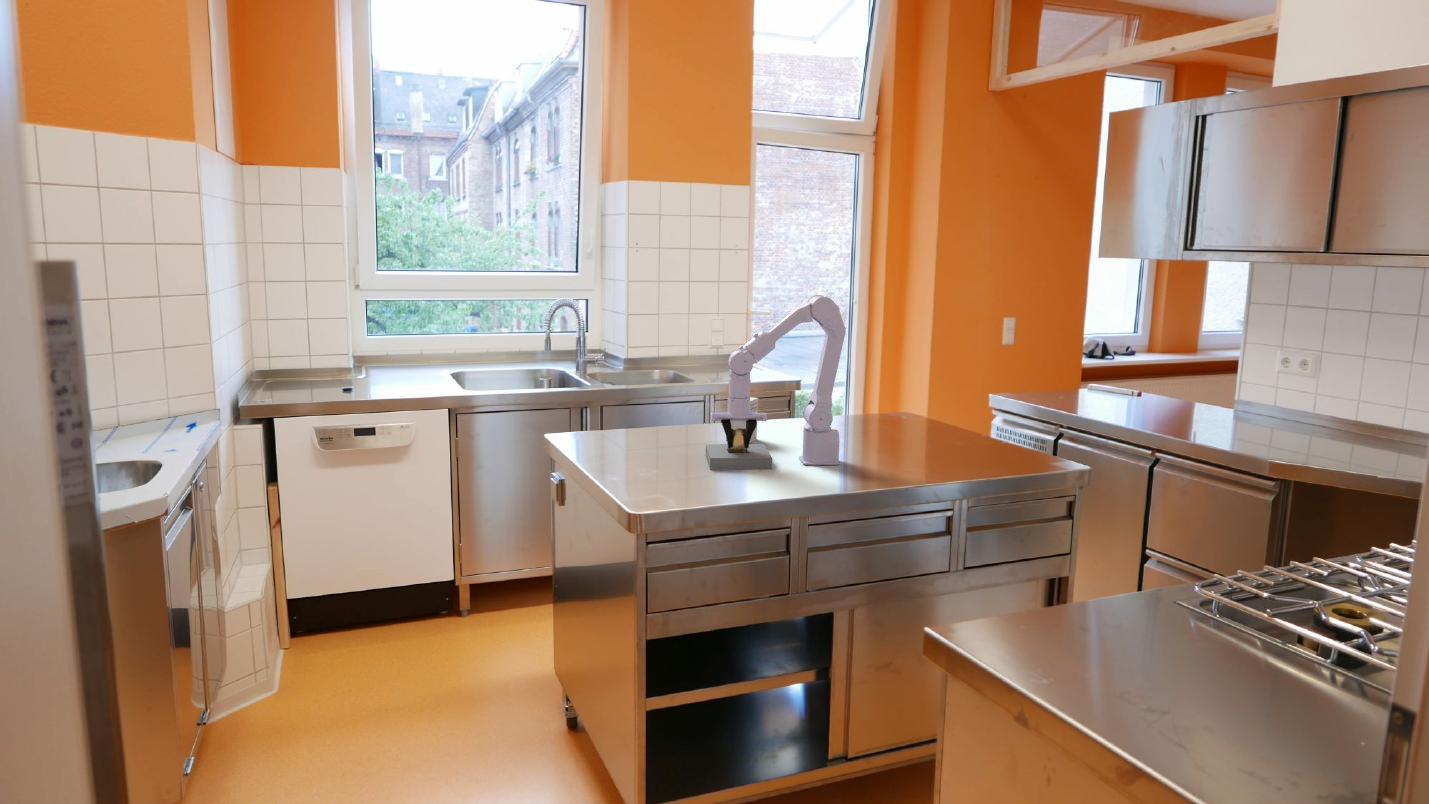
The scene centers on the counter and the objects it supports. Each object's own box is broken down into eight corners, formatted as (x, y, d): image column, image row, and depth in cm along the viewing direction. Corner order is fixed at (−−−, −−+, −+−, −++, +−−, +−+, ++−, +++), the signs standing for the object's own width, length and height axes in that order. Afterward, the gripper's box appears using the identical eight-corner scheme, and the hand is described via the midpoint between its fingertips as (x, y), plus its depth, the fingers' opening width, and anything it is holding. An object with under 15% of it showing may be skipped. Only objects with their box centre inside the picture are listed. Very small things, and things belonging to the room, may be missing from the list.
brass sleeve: (744, 456, 243) (745, 427, 241) (745, 460, 239) (746, 430, 237) (729, 456, 242) (730, 427, 241) (730, 460, 239) (731, 430, 237)
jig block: (763, 454, 249) (763, 444, 249) (772, 469, 233) (772, 458, 233) (705, 454, 248) (705, 444, 247) (710, 469, 232) (710, 458, 231)
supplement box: (725, 441, 264) (726, 399, 262) (734, 436, 271) (735, 395, 269) (749, 444, 262) (750, 401, 259) (757, 439, 268) (758, 397, 266)
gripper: (764, 394, 242) (763, 444, 244) (710, 394, 241) (709, 444, 243) (768, 399, 235) (766, 450, 237) (712, 398, 234) (711, 450, 236)
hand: (738, 447), depth 240 cm, fingers closed on brass sleeve, 4 cm apart
